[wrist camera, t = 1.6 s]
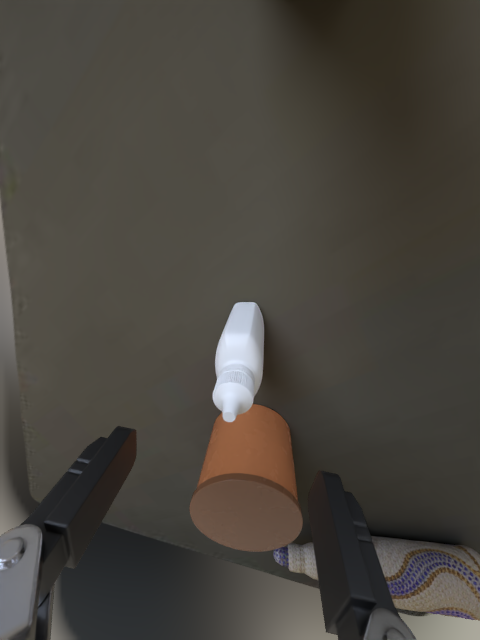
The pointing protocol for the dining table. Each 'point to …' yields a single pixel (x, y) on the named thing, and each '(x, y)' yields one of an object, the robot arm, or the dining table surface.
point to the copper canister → (248, 483)
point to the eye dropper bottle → (239, 360)
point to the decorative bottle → (413, 574)
